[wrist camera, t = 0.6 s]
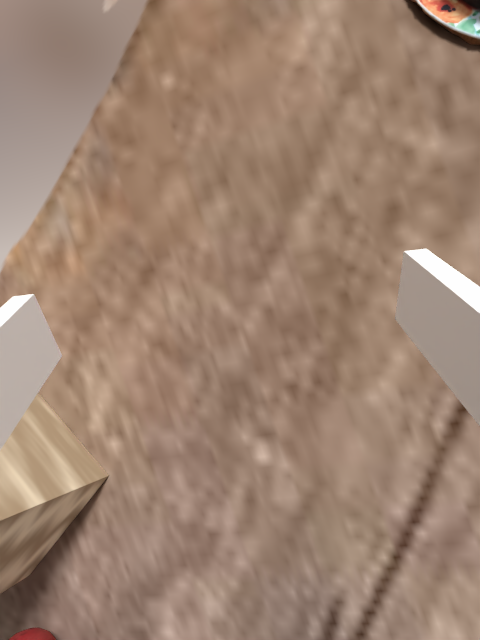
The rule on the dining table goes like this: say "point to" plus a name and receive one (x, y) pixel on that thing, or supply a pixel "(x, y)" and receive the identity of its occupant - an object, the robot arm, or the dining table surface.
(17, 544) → the shelf stand
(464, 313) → the robot arm
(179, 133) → the dining table surface
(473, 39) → the chocolate cake
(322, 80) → the dining table surface
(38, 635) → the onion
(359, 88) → the dining table surface
